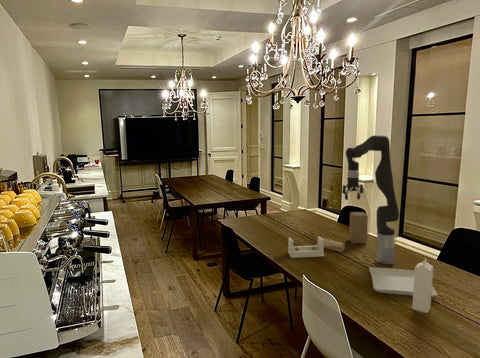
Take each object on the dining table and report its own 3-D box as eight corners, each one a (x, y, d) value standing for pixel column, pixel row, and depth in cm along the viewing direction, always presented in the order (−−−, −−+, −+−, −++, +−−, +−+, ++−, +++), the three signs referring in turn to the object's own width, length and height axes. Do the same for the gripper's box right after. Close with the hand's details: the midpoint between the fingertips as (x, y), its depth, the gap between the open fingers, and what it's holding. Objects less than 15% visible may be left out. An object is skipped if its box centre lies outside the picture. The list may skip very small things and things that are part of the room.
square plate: (423, 277, 180) (423, 270, 179) (437, 302, 154) (438, 294, 153) (368, 272, 187) (368, 265, 187) (373, 295, 161) (373, 287, 161)
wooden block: (363, 239, 241) (364, 211, 238) (367, 244, 231) (368, 215, 228) (348, 239, 242) (349, 211, 239) (352, 244, 232) (352, 215, 229)
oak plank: (341, 252, 218) (341, 244, 217) (319, 247, 228) (320, 239, 227) (344, 250, 221) (344, 242, 221) (323, 245, 231) (323, 238, 230)
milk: (430, 308, 149) (434, 259, 146) (427, 313, 144) (431, 263, 141) (415, 303, 153) (418, 256, 150) (411, 309, 148) (415, 260, 145)
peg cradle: (324, 256, 211) (324, 240, 209) (291, 257, 209) (291, 242, 207) (319, 250, 221) (319, 235, 219) (287, 252, 219) (287, 237, 217)
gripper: (345, 177, 233) (345, 201, 235) (365, 176, 235) (364, 200, 237) (341, 176, 240) (340, 199, 242) (360, 175, 242) (359, 198, 244)
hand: (352, 199), depth 240 cm, fingers open, 8 cm apart
